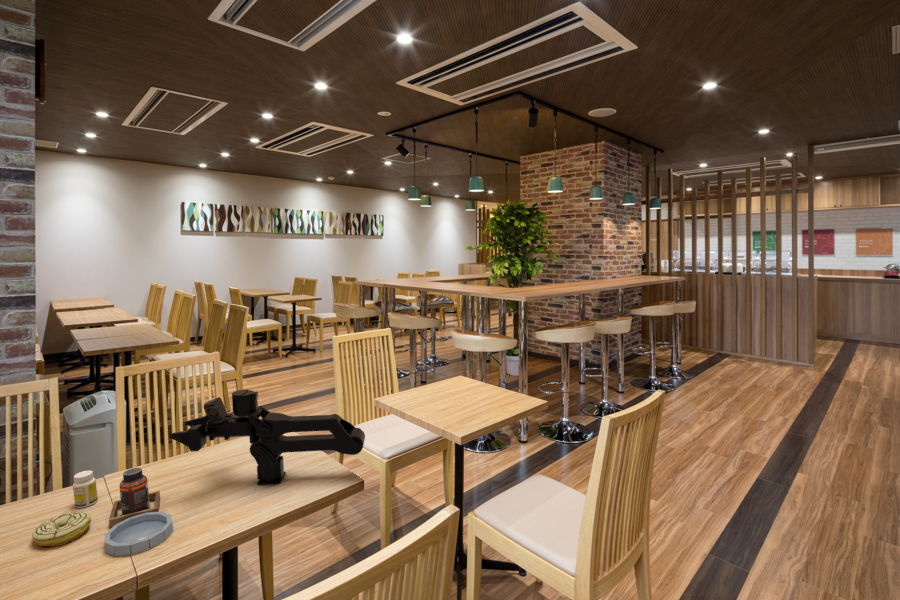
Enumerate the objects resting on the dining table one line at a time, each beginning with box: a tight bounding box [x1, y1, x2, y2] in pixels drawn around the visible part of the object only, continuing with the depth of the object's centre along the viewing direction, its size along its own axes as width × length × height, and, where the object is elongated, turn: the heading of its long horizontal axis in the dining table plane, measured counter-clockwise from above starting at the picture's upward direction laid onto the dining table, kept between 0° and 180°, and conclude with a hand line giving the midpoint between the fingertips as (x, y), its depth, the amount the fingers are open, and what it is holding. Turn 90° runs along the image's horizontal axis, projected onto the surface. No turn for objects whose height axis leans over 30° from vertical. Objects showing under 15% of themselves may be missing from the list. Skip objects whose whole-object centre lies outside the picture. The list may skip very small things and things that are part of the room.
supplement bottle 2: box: [118, 467, 151, 516], centre depth 116 cm, size 6×6×11 cm
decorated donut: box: [31, 511, 92, 547], centre depth 107 cm, size 10×11×4 cm
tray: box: [108, 490, 161, 530], centre depth 116 cm, size 10×10×2 cm
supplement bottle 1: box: [72, 470, 99, 509], centre depth 120 cm, size 5×5×8 cm
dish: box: [103, 511, 174, 557], centre depth 106 cm, size 13×13×2 cm
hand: (177, 429), depth 129 cm, fingers open, 9 cm apart
